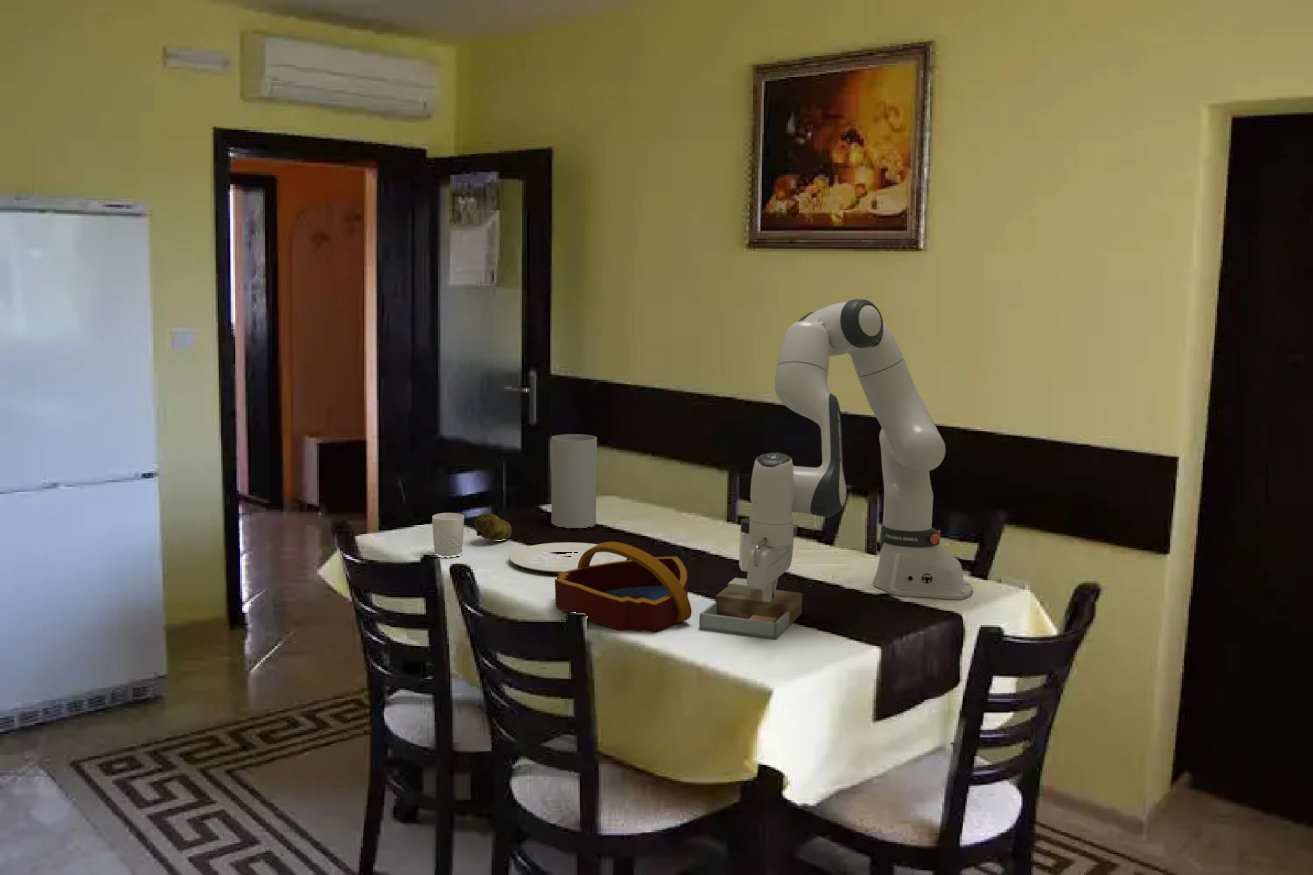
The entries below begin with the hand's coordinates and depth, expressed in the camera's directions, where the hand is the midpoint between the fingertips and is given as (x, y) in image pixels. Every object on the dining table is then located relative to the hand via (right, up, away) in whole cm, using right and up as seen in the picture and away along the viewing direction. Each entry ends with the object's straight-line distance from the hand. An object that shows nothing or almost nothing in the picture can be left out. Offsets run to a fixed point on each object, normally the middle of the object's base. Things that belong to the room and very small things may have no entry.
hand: (768, 600), depth 242 cm
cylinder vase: (-46, +8, +91) cm, 103 cm away
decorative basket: (-29, -4, +11) cm, 31 cm away
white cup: (-75, +4, +54) cm, 93 cm away
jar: (+1, +1, +47) cm, 47 cm away
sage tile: (-5, +1, +10) cm, 11 cm away
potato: (-66, +6, +70) cm, 96 cm away
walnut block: (-1, -4, +8) cm, 9 cm away
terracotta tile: (-2, -3, -4) cm, 6 cm away
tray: (-5, -6, -1) cm, 8 cm away
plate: (-45, +2, +50) cm, 67 cm away
